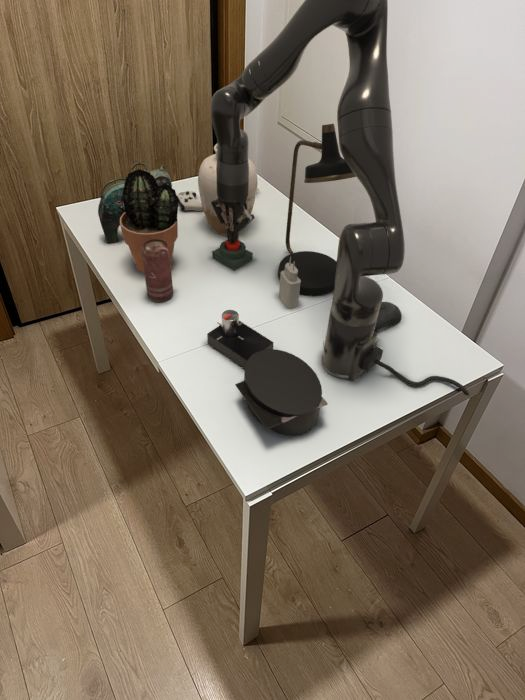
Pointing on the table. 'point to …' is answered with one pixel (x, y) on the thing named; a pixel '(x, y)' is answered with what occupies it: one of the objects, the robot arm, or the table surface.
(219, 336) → the panel
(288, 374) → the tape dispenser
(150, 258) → the can
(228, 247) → the button
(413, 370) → the table surface
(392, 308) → the computer mouse
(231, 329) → the knob
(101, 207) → the ceramic cat
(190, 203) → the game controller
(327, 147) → the lamp
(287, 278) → the power adapter
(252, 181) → the vase
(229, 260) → the box
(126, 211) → the potted plant
